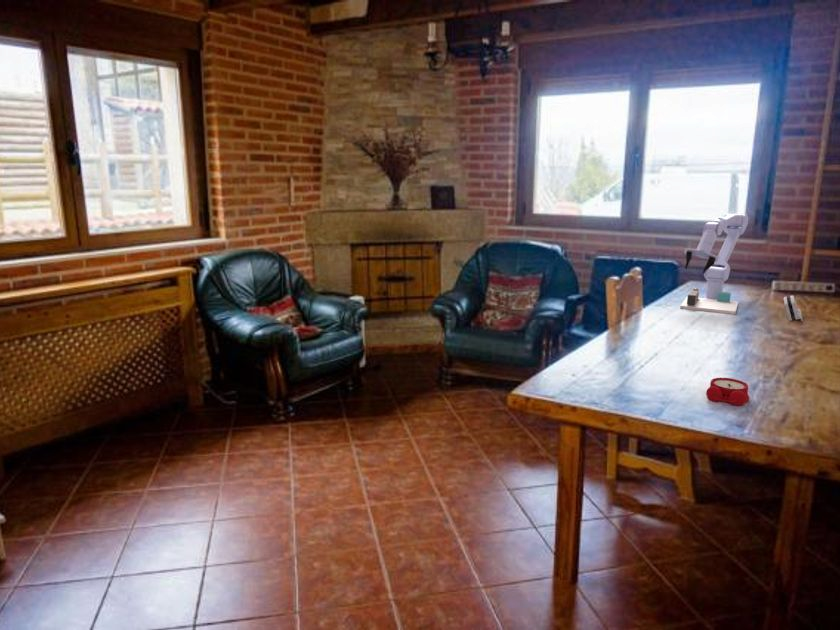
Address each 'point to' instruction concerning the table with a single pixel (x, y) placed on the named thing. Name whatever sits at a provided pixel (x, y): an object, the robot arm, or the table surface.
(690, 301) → the folding leg
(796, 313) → the hinge
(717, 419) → the table surface
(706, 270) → the robot arm
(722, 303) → the board
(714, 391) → the alarm clock
